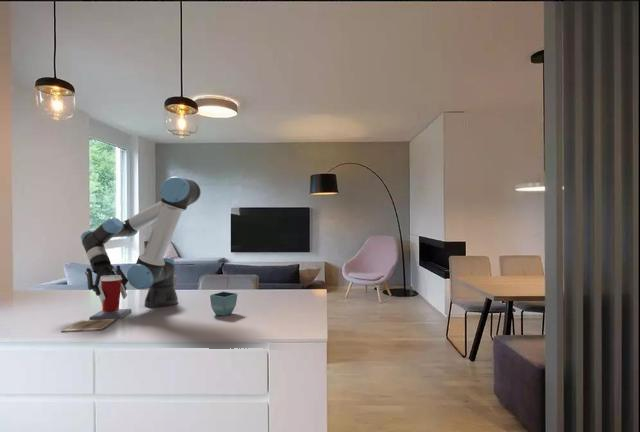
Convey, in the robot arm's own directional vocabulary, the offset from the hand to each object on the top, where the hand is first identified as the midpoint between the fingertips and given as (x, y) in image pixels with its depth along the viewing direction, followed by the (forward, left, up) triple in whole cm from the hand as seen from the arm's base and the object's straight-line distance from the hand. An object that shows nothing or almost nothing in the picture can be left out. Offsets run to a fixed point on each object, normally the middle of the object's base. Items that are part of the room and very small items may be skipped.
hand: (114, 298), depth 146 cm
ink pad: (+2, -2, -8) cm, 9 cm away
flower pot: (-46, +2, -8) cm, 47 cm away
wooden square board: (+4, +11, -8) cm, 14 cm away
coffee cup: (+2, -2, -6) cm, 7 cm away
